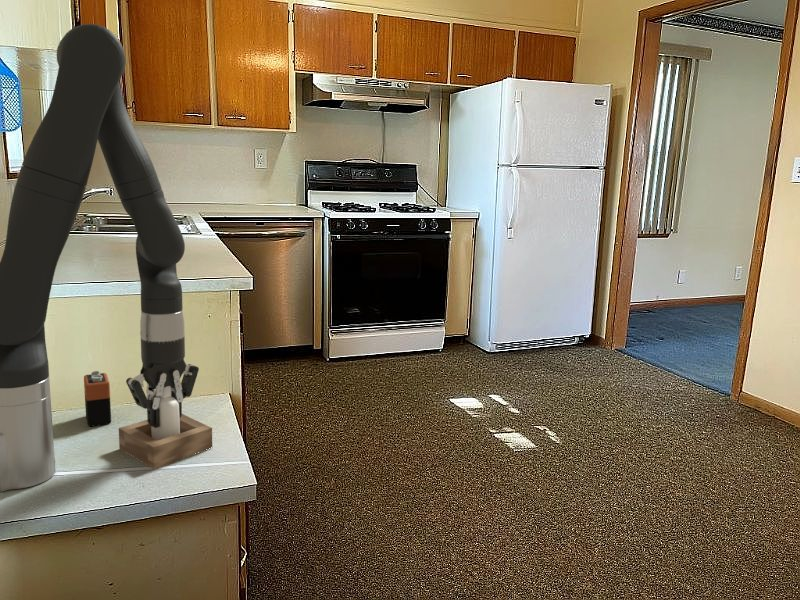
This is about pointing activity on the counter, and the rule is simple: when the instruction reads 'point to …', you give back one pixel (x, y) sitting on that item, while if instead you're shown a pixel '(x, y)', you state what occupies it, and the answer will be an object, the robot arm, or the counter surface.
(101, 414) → the battery
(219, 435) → the counter surface
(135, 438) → the walnut open box
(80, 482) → the counter surface
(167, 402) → the eye dropper bottle
